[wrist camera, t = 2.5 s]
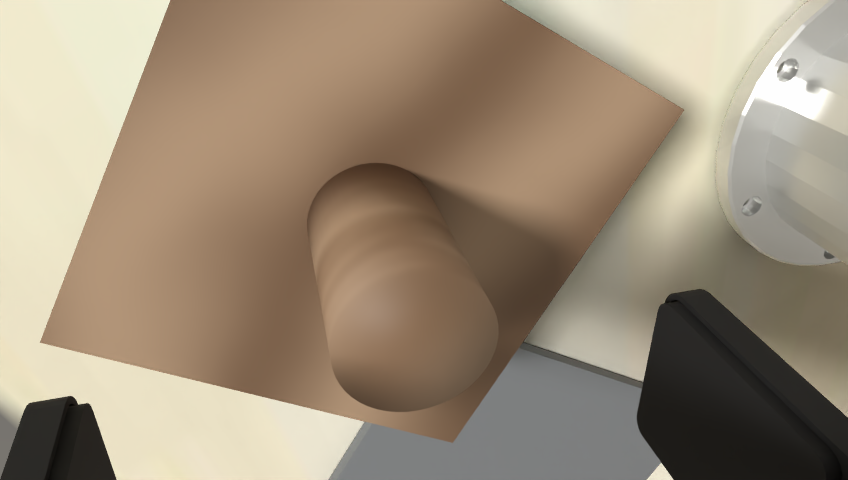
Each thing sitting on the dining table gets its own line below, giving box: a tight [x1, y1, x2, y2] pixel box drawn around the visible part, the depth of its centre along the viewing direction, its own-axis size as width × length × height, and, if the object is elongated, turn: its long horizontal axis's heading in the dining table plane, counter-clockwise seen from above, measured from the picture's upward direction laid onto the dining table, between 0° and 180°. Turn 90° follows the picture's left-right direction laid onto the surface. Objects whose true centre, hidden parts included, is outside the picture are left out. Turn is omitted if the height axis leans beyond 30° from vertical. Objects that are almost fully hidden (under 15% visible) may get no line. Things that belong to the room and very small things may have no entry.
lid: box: [40, 0, 684, 443], centre depth 15 cm, size 12×12×6 cm
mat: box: [329, 343, 661, 480], centre depth 33 cm, size 16×14×1 cm
